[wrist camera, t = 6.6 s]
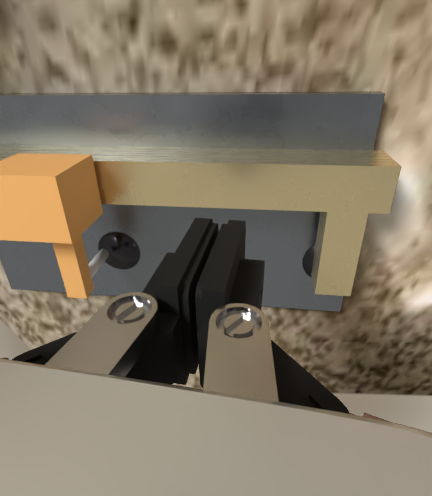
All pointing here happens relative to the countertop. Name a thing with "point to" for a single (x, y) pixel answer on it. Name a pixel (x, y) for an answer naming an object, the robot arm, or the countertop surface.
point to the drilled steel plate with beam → (212, 182)
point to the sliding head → (53, 210)
